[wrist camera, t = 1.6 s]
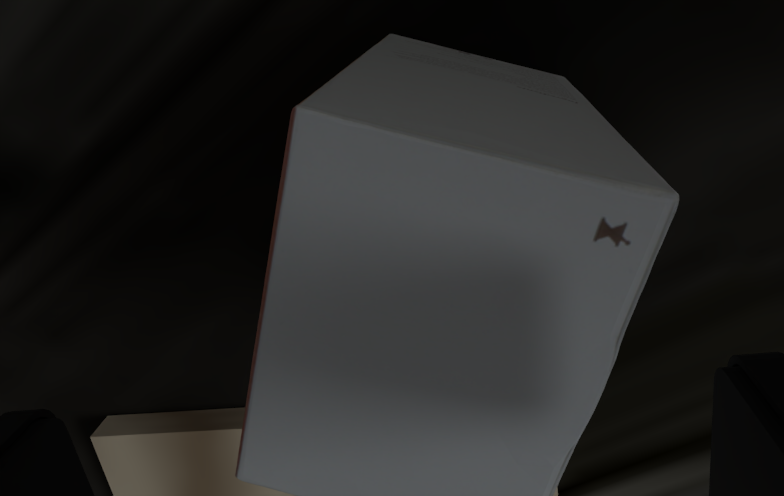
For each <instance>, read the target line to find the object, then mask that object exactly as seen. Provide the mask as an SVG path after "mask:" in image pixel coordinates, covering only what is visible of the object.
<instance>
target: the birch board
mask: <svg viewBox="0 0 784 496" xmlns="http://www.w3.org/2000/svg"><path fill="white" fill-rule="evenodd" d="M244 413H245V407H244V408H227V409H211V410H194V411H178V412H161V413H145V414H128V415H112V416H107V417H106V418H105V419H104V421H103V422H102V423H101V424H100V426H99V427H98V428H97V429H96V430H95V432H94V433H93V434H92V435H91V436H90V438H91V441H92V443H93V446H94V448H95V451H96V453H97V456H98V458H99V461H100V463H101V466H102V468H103V471H104V473H105V476H106V478H107V481H108V483H109V485H110V488H111V490H112V493H113V495H114V496H296V495H292V494H288V493H285V492H281V491H277V490H274V489H270V488H266V487H262V486H258V485H254V484H250V483H246V482H243V481H240V480H239V479H238V478H237V477H236V476H235V473H236V467H237V460H238V453H239V446H240V440H241V433H242V426H243V420H244ZM553 496H558V490H557V488H556V490H555V493H554V495H553Z"/></svg>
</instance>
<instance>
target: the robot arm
mask: <svg viewBox="0 0 784 496" xmlns="http://www.w3.org/2000/svg"><path fill="white" fill-rule="evenodd" d="M0 496H94V494H93V491H92V489H91V487H90V484H89V482H88V479H87V477H86V474H85V472H84V470H83V467H82V465H81V462H80V460H79V457H78V455H77V453H76V450H75V448H74V445H73V443H72V440H71V438H70V435H69V433H68V431H67V428H66V426H65V424H64V423H63V421H61V420H60V419H58V418H56V417H55V415H54V414H53V413H51V412H50V411H49V410H45V409H39V410H26V411H13V412H8V413H4V414H3V415H2V416H0ZM709 496H784V354H783V353H780V352H771V353H758V354H745V355H733V356H732V357H731V358H730V360H729V362H728V367H723V368H718V369H716V372H715V376H714V394H713V417H712V440H711V463H710V486H709Z"/></svg>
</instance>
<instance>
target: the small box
mask: <svg viewBox="0 0 784 496" xmlns="http://www.w3.org/2000/svg"><path fill="white" fill-rule="evenodd" d="M678 203H679V194H678V193H677V192H676V191H675V190H674V189H673V188H672V187H671V186H670V185H669V184H668V183H667V182H666V181H665V180H664V179H663V178H662V177H661V176H660V175H659V174H658V173H657V172H656V171H655V170H654V169H653V168H652V167H651V166H650V165H649V164H648V163H647V162H646V161H645V160H644V159H643V158H642V157H641V156H640V155H639V154H638V153H637V151H636V150H635V149H634V148H633V147H632V146H631V145H630V144H629V143H628V142H627V141H626V140H625V139H624V138H623V137H622V136H621V135H620V134H619V133H618V132H617V131H616V130H615V129H614V128H613V127H612V126H611V125H610V124H609V123H608V121H607V120H606V119H605V118H604V117H603V116H602V115H601V114H600V113H599V112H598V111H597V110H596V109H595V108H594V106H593V105H592V104H591V103H590V102H589V101H588V100H587V99H586V98H585V97H584V96H583V95H582V94H581V93H580V92H579V91H578V90H577V89H576V88H575V87H574V86H573V85H572V84H571V83H570V82H569V81H568V80H567V79H566V78H565V77H563V76H559V75H555V74H551V73H547V72H543V71H539V70H535V69H531V68H527V67H523V66H519V65H515V64H511V63H507V62H503V61H499V60H495V59H490V58H486V57H482V56H478V55H474V54H470V53H466V52H462V51H458V50H455V49H451V48H447V47H443V46H439V45H435V44H431V43H427V42H423V41H419V40H415V39H411V38H407V37H403V36H399V35H395V34H389V35H388V36H386V37H385V38H384V39H382V40H381V41H380V42H378V43H377V44H376V45H374V46H373V47H372V48H371V49H369V50H368V51H367V52H365V53H364V54H363V55H362V56H360V57H359V58H358V59H356V60H355V61H354V62H352V63H351V64H350V65H349V66H347V67H346V68H345V69H343V70H342V71H341V72H340V73H338V74H337V75H336V76H335V77H333V78H332V79H331V80H329V81H328V82H327V83H326V84H324V85H323V86H322V87H320V88H319V89H318V90H316V91H315V92H314V93H313V94H311V95H310V96H309V97H308V98H306V99H305V100H303V101H302V102H301V103H299V104H298V105H296V106H295V107H294V108H293V109H292V112H291V117H290V123H289V129H288V135H287V142H286V148H285V154H284V161H283V167H282V173H281V179H280V185H279V192H278V198H277V204H276V211H275V217H274V224H273V230H272V237H271V243H270V250H269V256H268V263H267V269H266V276H265V282H264V289H263V295H262V302H261V309H260V315H259V321H258V327H257V334H256V340H255V346H254V353H253V359H252V366H251V373H250V381H249V387H248V393H247V400H246V407H245V413H244V420H243V426H242V433H241V440H240V446H239V453H238V460H237V467H236V473H235V476H236V477H237V478H238V479H239V480H240V481H243V482H246V483H250V484H254V485H258V486H262V487H266V488H270V489H274V490H277V491H281V492H285V493H288V494H292V495H296V496H553V495H554V493H555V490H556V488H557V486H558V483H559V481H560V479H561V477H562V474H563V472H564V470H565V468H566V466H567V464H568V461H569V459H570V457H571V455H572V453H573V451H574V448H575V446H576V444H577V442H578V440H579V438H580V436H581V434H582V433H583V431H584V429H585V427H586V425H587V423H588V422H589V420H590V418H591V416H592V414H593V412H594V410H595V408H596V406H597V404H598V401H599V399H600V397H601V394H602V392H603V390H604V388H605V385H606V382H607V379H608V377H609V375H610V372H611V370H612V368H613V365H614V363H615V360H616V357H617V355H618V351H619V347H620V344H621V341H622V339H623V336H624V333H625V330H626V328H627V326H628V323H629V321H630V319H631V316H632V314H633V311H634V309H635V307H636V304H637V301H638V299H639V297H640V294H641V292H642V290H643V288H644V285H645V283H646V281H647V278H648V276H649V273H650V271H651V268H652V266H653V263H654V261H655V258H656V256H657V254H658V251H659V249H660V247H661V245H662V242H663V240H664V238H665V235H666V233H667V231H668V228H669V226H670V224H671V221H672V219H673V217H674V215H675V212H676V210H677V206H678Z"/></svg>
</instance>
